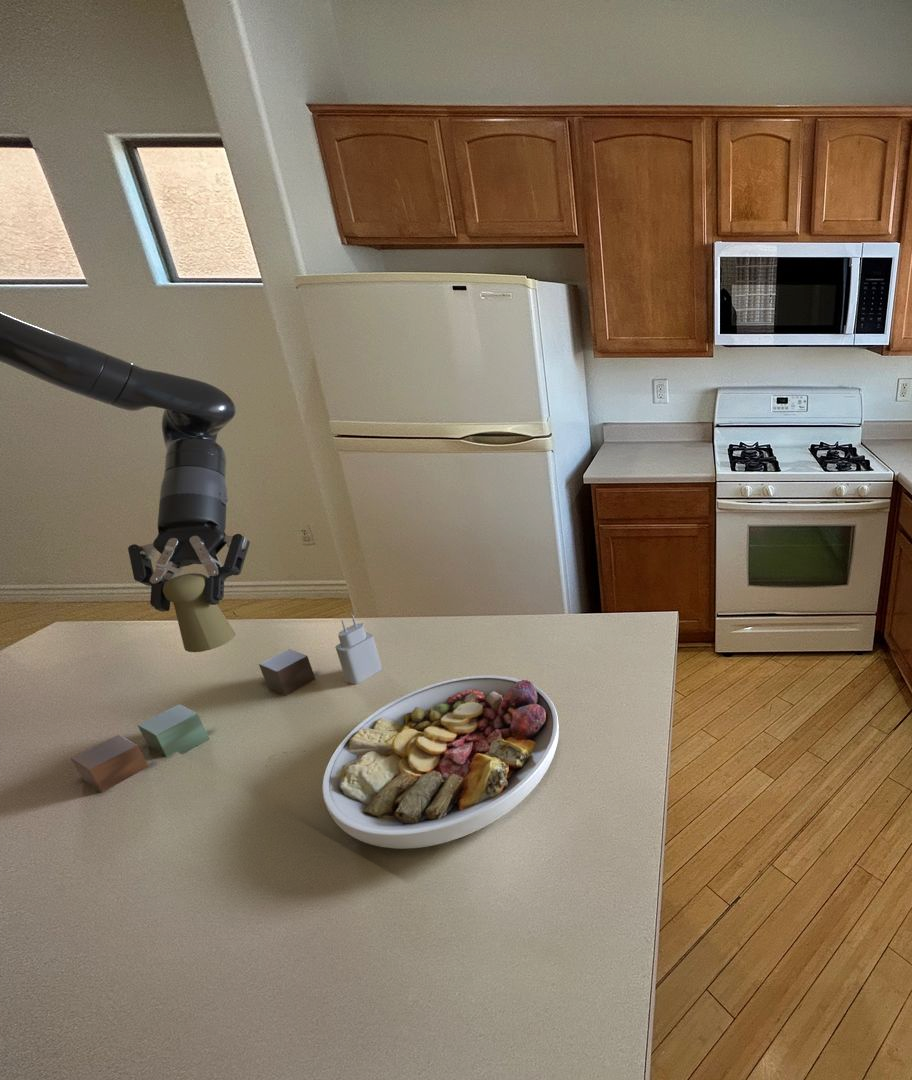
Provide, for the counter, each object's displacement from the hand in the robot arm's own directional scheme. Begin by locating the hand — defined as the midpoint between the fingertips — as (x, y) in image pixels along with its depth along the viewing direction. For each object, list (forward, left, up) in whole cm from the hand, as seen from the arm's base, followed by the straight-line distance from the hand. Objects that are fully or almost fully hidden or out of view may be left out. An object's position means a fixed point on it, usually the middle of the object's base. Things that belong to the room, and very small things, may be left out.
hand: (187, 606), depth 80 cm
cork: (+1, +1, -7) cm, 8 cm away
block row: (-3, +1, -21) cm, 21 cm away
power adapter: (+16, -8, -21) cm, 28 cm away
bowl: (+7, -40, -21) cm, 46 cm away
